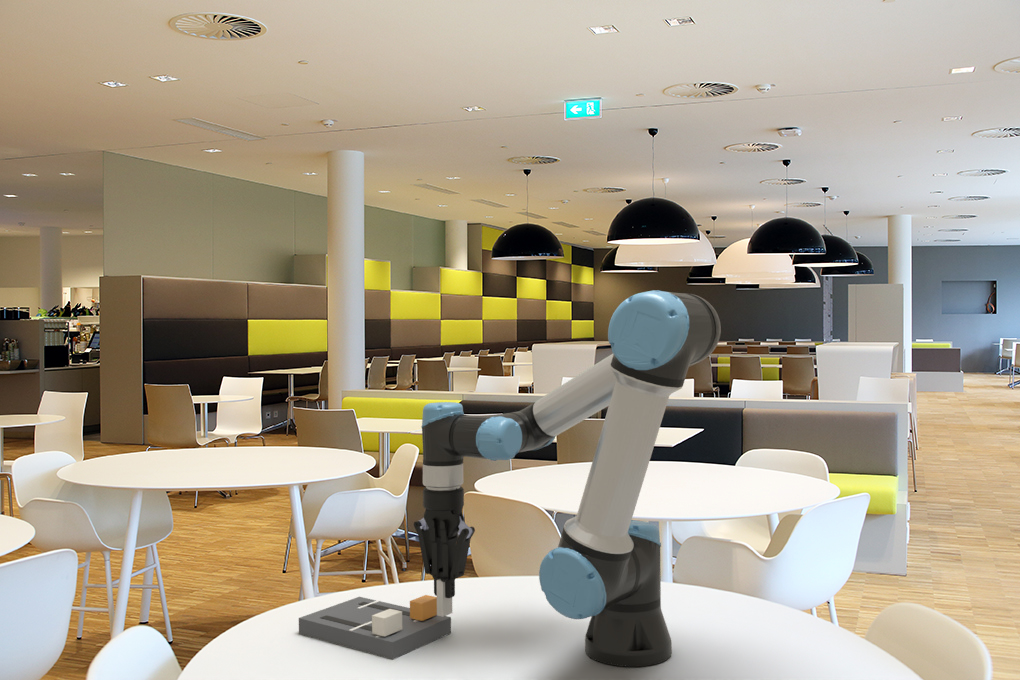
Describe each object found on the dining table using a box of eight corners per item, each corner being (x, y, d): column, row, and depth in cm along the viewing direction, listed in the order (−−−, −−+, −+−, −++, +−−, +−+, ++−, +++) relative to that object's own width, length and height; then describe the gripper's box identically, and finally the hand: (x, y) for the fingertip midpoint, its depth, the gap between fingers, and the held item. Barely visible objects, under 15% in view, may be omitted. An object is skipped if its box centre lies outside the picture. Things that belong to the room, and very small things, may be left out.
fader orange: (438, 614, 166) (437, 597, 166) (422, 620, 162) (421, 603, 162) (426, 611, 167) (425, 594, 167) (410, 618, 164) (409, 601, 164)
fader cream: (402, 629, 157) (402, 611, 157) (384, 636, 154) (384, 618, 154) (390, 626, 159) (389, 608, 159) (372, 633, 155) (371, 615, 155)
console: (451, 633, 165) (450, 616, 165) (392, 659, 152) (392, 641, 152) (359, 611, 179) (359, 596, 179) (298, 633, 166) (298, 617, 165)
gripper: (483, 486, 161) (485, 614, 161) (429, 480, 168) (430, 602, 169) (458, 493, 155) (459, 626, 155) (403, 486, 162) (404, 613, 162)
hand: (444, 613), depth 162 cm, fingers closed
